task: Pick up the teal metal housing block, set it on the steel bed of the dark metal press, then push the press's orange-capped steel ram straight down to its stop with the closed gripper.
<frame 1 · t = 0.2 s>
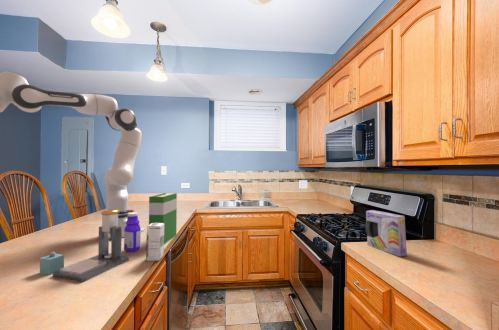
press ram: (110, 225, 97), point 15 cm above the countertop, slide at 0.0 cm
housing: (52, 271, 87), on the countertop
cake pan box: (384, 250, 111), on the countertop
syrup box: (155, 258, 100), on the countertop
bottle: (132, 250, 110), on the countertop
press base: (93, 267, 90), on the countertop
green striped box: (163, 239, 126), on the countertop
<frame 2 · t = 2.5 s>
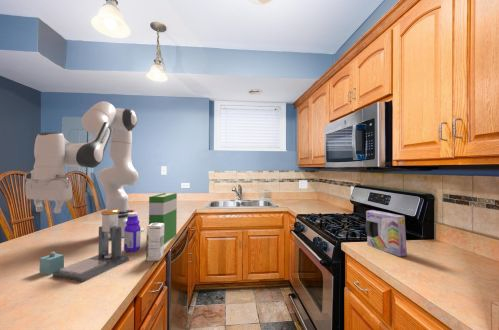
hand: (48, 212, 87), 22 cm above the countertop, tool pointing down, fingers open, 8 cm apart
nothing on the countertop moved.
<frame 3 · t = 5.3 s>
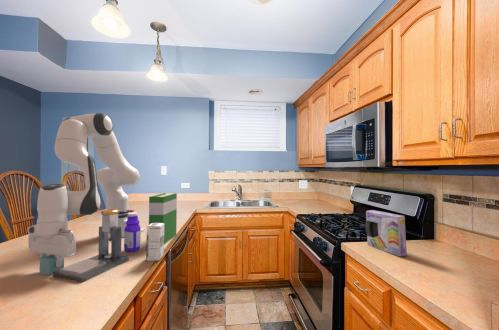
hand: (52, 265, 87), 2 cm above the countertop, tool pointing down, fingers closed on housing, 5 cm apart
housing: (51, 271, 87), on the countertop, touching gripper
everything else where it was.
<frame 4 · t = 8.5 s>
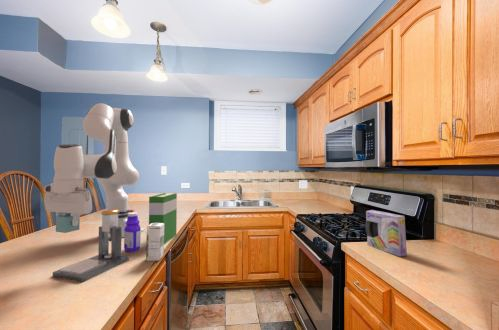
hand: (68, 224, 87), 17 cm above the countertop, tool pointing down, fingers closed on housing, 5 cm apart
housing: (67, 230, 87), point 15 cm above the countertop, touching gripper
everything else where it was.
when the fingers open (6 cm above the countertop, at t = 11.6 s): housing stays where it is, resting on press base.
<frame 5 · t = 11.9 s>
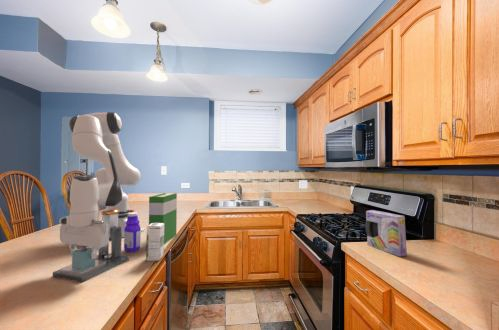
hand: (84, 256, 87), 6 cm above the countertop, tool pointing down, fingers open, 8 cm apart
housing: (83, 265, 87), point 2 cm above the countertop, touching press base
everything else where it was.
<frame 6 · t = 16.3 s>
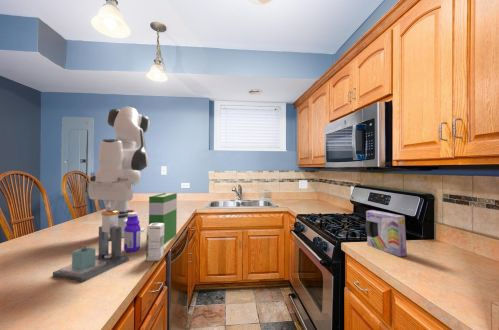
hand: (110, 211, 97), 21 cm above the countertop, tool pointing down, fingers closed, pressing on press ram
press ram: (110, 225, 97), point 14 cm above the countertop, slide at -0.2 cm, touching gripper
everything else where it was.
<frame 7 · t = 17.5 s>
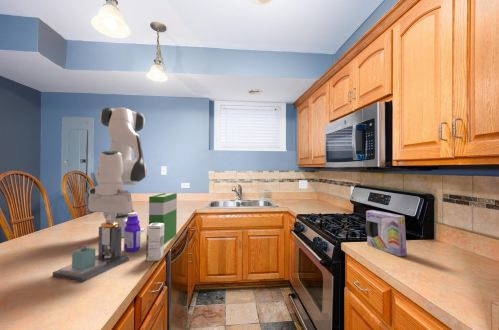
hand: (110, 223, 97), 15 cm above the countertop, tool pointing down, fingers closed, pressing on press ram
press ram: (110, 238, 97), point 9 cm above the countertop, slide at -5.2 cm, touching gripper
everything else where it was.
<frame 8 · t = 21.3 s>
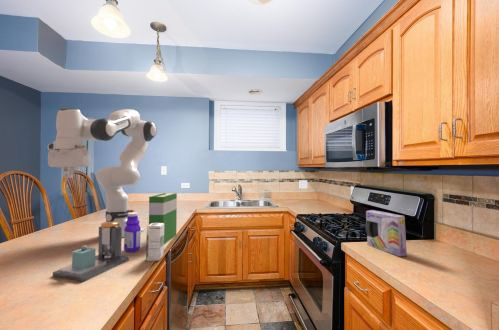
hand: (68, 177, 101), 34 cm above the countertop, tool pointing down, fingers closed
press ram: (110, 237, 97), point 9 cm above the countertop, slide at -5.1 cm
everything else where it was.
at the end: housing inside the target area on the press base (0.1 cm from its centre), point 2.5 cm above the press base's base; housing tilted 0°; press ram slide at -5.1 cm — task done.
